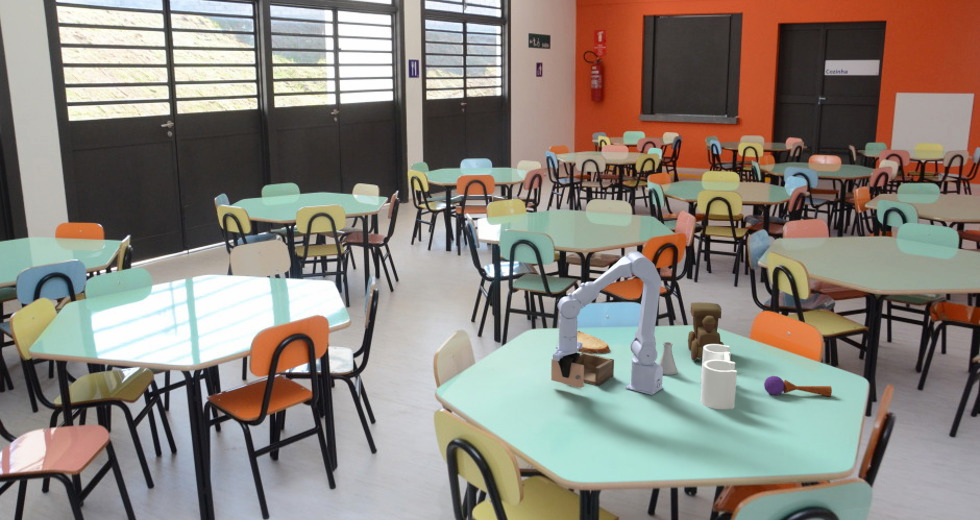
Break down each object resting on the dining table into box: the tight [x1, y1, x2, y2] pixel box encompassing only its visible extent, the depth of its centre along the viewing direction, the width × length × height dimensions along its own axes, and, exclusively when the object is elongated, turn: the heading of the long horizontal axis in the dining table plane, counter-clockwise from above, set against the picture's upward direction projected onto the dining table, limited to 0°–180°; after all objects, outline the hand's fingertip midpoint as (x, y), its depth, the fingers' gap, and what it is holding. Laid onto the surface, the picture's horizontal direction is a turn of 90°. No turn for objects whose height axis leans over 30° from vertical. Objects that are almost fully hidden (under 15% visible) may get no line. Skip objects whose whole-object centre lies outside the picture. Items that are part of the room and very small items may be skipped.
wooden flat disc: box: [577, 330, 611, 355], centre depth 301 cm, size 18×18×4 cm
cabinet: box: [576, 352, 615, 387], centre depth 269 cm, size 13×13×6 cm
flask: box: [657, 341, 678, 376], centre depth 274 cm, size 7×7×10 cm
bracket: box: [700, 344, 738, 410], centre depth 256 cm, size 25×10×12 cm, turn 168°
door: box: [550, 358, 585, 389], centre depth 257 cm, size 11×2×7 cm, turn 53°
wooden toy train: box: [687, 302, 725, 361], centre depth 289 cm, size 20×11×17 cm, turn 172°
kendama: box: [763, 375, 833, 398], centre depth 255 cm, size 6×6×20 cm
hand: (567, 375), depth 258 cm, fingers closed on door, 2 cm apart
